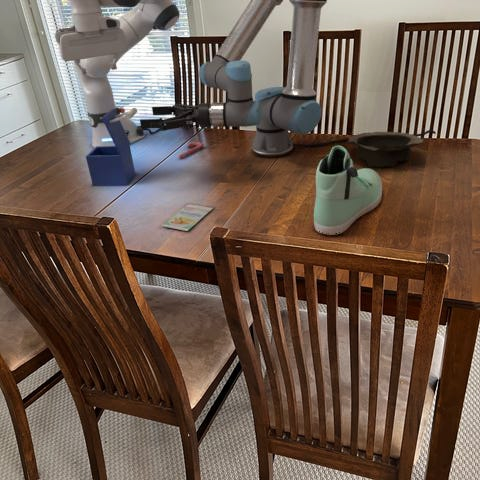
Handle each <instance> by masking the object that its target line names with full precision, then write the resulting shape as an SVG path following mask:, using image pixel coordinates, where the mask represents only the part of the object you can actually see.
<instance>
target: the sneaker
mask: <svg viewBox="0 0 480 480" xmlns="http://www.w3.org/2000/svg"><path fill="white" fill-rule="evenodd" d="M317 165H318V166H317V168H316V172H315V201H314V207H313V225H314V229H315V231H316V232H318V233H320V234H323V235H326V236H327V235H328V236H336V235H339V234H342V233H344V232H345V231H347V230H348V229H349V228H350V227H351V226H352V225H353V224H354V222H356V221H357V220H358V219H359V218H360V217H362V216H363V215H365V214H367V213H370V212H372V210H374V209H375V208H377V207H378V205H380V203H381V200H382V196H383V184H382V183H383V182H382V179H381V176H380V175H379V173H378V172H377V171H376V170H374V169H372V168H367V167H365V168H358V169H357V168H355V167H354V161H353V159H352V158H351V156H350V153H349V152H348V150H347V148H345V147H344V146H342V145H334V146H333V147H331V149H330V151H329V154H327V155H326V156H325V157H324V158H322V159H321V160H320V161H319V163H318V164H317ZM343 230H344V231H343ZM319 231H320V232H319ZM322 232H323V233H322ZM339 232H340V233H339ZM326 233H327V234H326ZM328 233H329V234H328ZM335 233H337V234H335Z"/></svg>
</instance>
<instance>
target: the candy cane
mask: <svg viewBox="0 0 480 480" xmlns="http://www.w3.org/2000/svg"><path fill="white" fill-rule="evenodd" d="M187 148H189V149H188V150H187V151H184V152H183V153H181V154H179V155H178V156H177V157H178V159H183V158H185V157H186V156H188V155H190V154H192V153H195V152H197V151H199V150H200V149H201V148H203V143H201V142H197V141H195V142H194V141H193V142H190V143H188V144H187Z"/></svg>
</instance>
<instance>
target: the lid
mask: <svg viewBox="0 0 480 480" xmlns="http://www.w3.org/2000/svg"><path fill="white" fill-rule="evenodd" d="M137 113H138V109H137V108H136V107H131V109H130V110H129V111H125V113H120V114H119V115H117V113H116V111H115V109H112V110H110V111H109V112H108V113H107V114H106V115H104V116H103V117H102V120H103V122H104V124H105V126H106V128H107V130H108V132H109V134H110V136H111V138H112V141H113V143H114V145H115V147H116V149H117V151H118V153H119V155H120V154H122V153H123V152H124V151H125V150H126V149H127V147H128V146H130V145H131V144H132V143H130V141H129V139H128V137H127V135H126V133H125V130H124V128H123V126H122V124H121V122H120V120H122V119H125V118H127V119H129V120H131V119H132V118H133V117H134V116H135V115H136V114H137ZM121 116H123V117H121ZM119 117H120V118H119Z"/></svg>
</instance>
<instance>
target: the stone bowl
mask: <svg viewBox="0 0 480 480" xmlns="http://www.w3.org/2000/svg"><path fill="white" fill-rule="evenodd" d="M348 138H349V140H348V141H347V143H348V144H351V145H353V146H356V150H357V151H356V152H357V154H358V155H360V157H361V159H363V160H364V161H366V164H367V166H368V167H372V168H375V167H376V168H385V167H394V166H396V165H397V164H398V162H406V161H408V160H409V158H410V151H411V148H413V147H416V146H419V145H420V144H422V143H424V142H425V141H424V139H422V138H420V136H418V137H417V136H414V135H411V133H407V132H397V131H373V132H362V133H358V134H353V135H351V136H349V137H348Z"/></svg>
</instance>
